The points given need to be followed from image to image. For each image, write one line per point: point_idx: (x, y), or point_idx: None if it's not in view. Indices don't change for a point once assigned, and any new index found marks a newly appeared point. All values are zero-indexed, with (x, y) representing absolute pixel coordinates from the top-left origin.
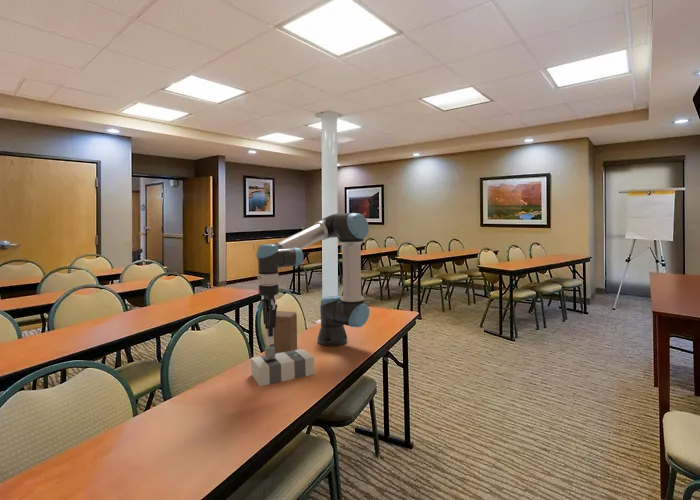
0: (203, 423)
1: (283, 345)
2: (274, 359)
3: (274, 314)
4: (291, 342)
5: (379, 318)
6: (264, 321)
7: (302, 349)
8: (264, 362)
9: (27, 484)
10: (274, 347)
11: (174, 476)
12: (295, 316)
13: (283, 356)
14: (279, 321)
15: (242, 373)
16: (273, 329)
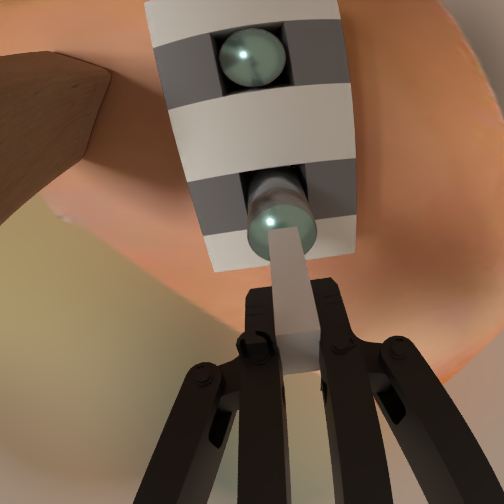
0: (429, 321)
1: (64, 114)
2: (297, 182)
3: (478, 471)
4: (53, 72)
5: None
6: (233, 421)
7: (156, 3)
8: None
9: None
10: (296, 209)
11: (494, 326)
12: None
13: (245, 121)
14: None
15: (197, 254)
16: (316, 313)
